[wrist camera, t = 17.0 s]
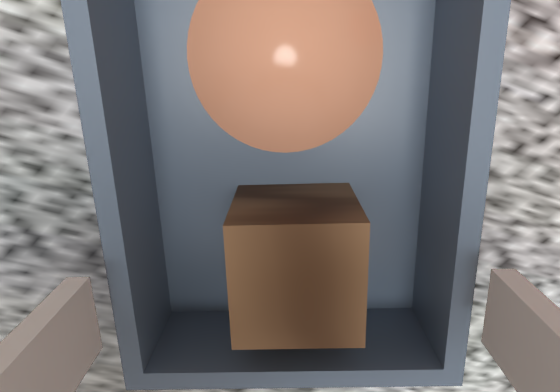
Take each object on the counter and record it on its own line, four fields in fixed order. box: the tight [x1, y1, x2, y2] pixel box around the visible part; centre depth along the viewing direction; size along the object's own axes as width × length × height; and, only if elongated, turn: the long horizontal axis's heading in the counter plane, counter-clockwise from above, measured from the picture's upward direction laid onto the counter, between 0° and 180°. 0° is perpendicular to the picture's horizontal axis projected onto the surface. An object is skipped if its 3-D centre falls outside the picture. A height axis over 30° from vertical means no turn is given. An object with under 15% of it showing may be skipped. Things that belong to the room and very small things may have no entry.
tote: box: [61, 0, 511, 390], centre depth 17 cm, size 14×18×5 cm
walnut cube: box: [223, 183, 370, 350], centre depth 17 cm, size 5×5×5 cm
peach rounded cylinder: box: [187, 0, 383, 153], centre depth 14 cm, size 5×5×7 cm
